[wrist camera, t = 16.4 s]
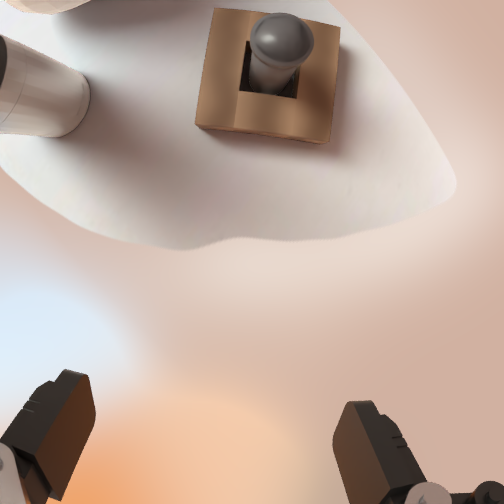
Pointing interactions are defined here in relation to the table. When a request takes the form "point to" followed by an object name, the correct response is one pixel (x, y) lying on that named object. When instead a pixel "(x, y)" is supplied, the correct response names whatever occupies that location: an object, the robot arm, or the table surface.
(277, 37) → the plug
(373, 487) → the robot arm
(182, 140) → the table surface
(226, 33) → the socket block
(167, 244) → the table surface
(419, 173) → the table surface
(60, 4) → the white handled vase
